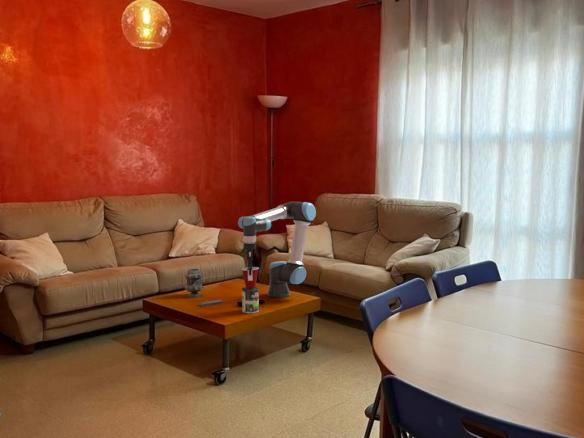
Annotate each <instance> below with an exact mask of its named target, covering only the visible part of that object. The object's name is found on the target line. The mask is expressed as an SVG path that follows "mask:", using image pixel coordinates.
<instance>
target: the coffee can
mask: <svg viewBox="0 0 584 438" xmlns="http://www.w3.org/2000/svg"><path fill="white" fill-rule="evenodd" d="M259 290H260V288H259V287H257V286H255V288H246V286H244V287H242V288H241V303H242V304H241V305H242V306H241V308H242V309H241V312H242V313H244V314H255V313H256V314H257V313H259V311H260V309H259V307H260V303H259V302H260V301H259V300H260V298H259V297H260V296H259V295H260V294H259V293H260V291H259Z"/></svg>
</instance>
